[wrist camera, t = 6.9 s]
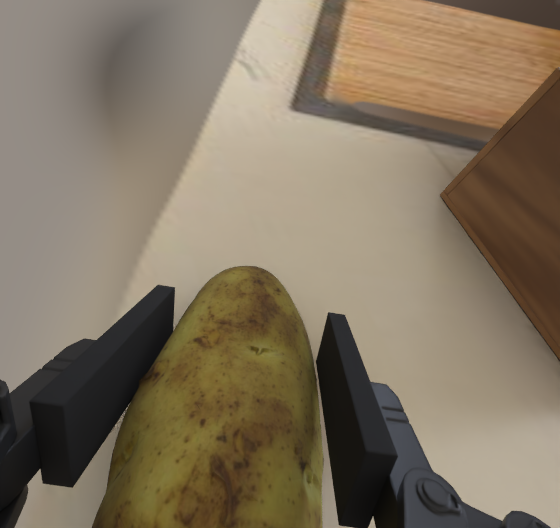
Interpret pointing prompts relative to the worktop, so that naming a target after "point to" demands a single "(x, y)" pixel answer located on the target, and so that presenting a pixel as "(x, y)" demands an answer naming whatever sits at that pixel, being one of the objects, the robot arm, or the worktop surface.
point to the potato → (223, 419)
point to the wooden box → (519, 206)
